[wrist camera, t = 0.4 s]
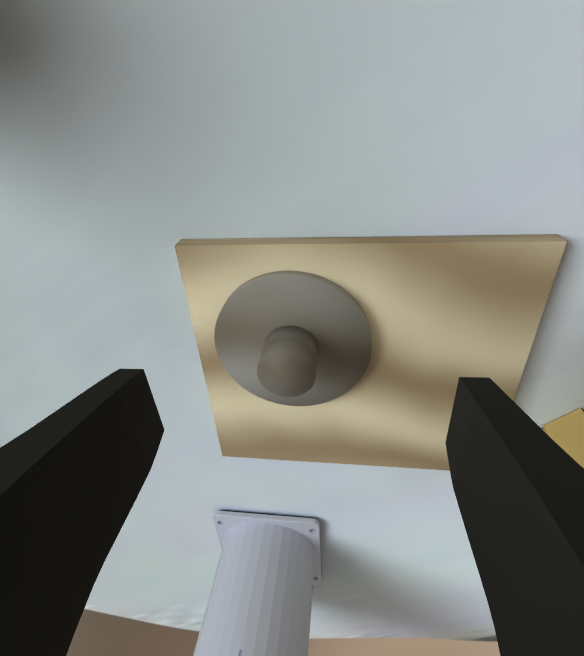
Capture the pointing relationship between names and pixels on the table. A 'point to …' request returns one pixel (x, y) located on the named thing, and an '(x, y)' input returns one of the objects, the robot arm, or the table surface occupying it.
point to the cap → (569, 434)
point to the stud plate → (359, 337)
